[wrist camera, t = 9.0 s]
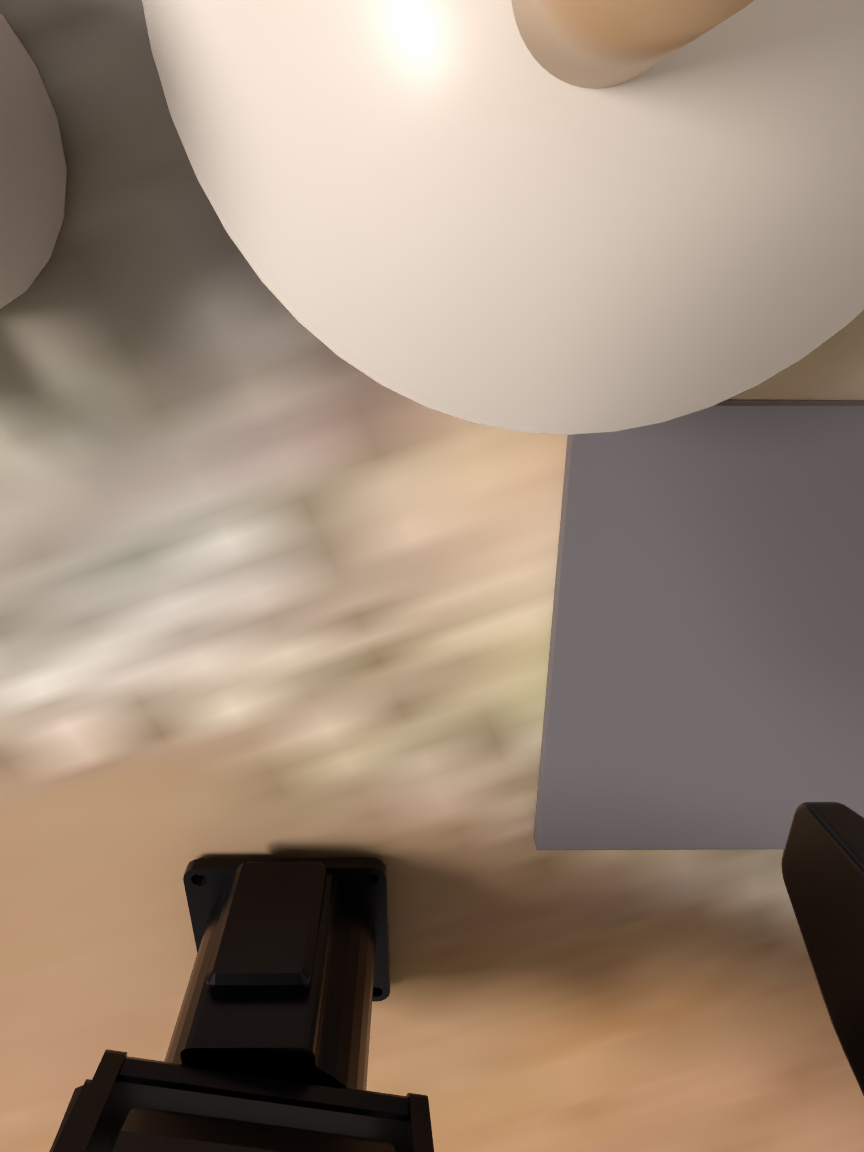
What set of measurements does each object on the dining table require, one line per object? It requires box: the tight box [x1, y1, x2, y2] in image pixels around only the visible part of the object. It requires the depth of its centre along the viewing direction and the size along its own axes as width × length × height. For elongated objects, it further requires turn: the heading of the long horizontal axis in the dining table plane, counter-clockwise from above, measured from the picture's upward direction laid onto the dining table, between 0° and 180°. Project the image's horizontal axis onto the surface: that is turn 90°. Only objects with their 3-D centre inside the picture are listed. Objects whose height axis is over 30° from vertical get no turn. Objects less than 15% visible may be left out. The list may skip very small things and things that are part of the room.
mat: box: [534, 400, 864, 850], centre depth 21 cm, size 14×14×1 cm
